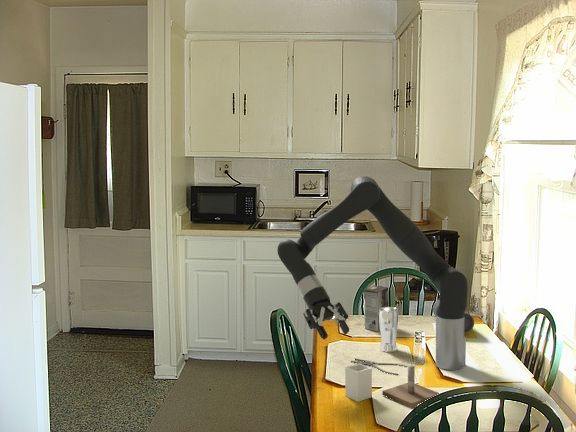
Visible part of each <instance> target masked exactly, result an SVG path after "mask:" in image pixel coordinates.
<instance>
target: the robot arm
mask: <svg viewBox="0 0 576 432" xmlns="http://www.w3.org/2000/svg"><path fill="white" fill-rule="evenodd" d="M366 210H367V211H368V212H369V213H370V214H371V215H373V217H374V218H375V219H376V220H377V222H379V224H380V226H381V227H382V229H383V230H384V232H385V233H386V235H387V236H388V238H389V239H390V240H391V241H392V242H393V244H395V246H396V247H397V248H398V249H399V250H400V251H401V252H402V253H403V254H404V255H405V256H406V257H408V258H409V259H410V261H412V262H413V263H414V264H416V265H417V266H418V267H420V269H421V271H423V272H424V273H425V274H426V276H427V277H428V278H429V280H430V281H431V282H432V284H433V285H434V287H435V288H436V289H437V291H439V299H440V303H439V306H438V307H437V308H436V316H435V324H436V325H435V326H436V327H435V366H436V367H437V368H439V369H442V370H447V371H448V370H449V371H450V370H451V371H453V370H454V371H455V370H460V369H463V368H464V366H465V365H466V353H467V349H466V348H467V347H466V346H467V338H466V337H465V334H464V314H465V311H466V310H467V305H468V288H469V287H468V280H467V278H466V275H465V274H464V273H463V272H461V271H460V270H458V269H457V268H454V267H453V266H451V264H449V263H448V262H447V261H446V260H445V259H444V258H442V257H441V256H440V255H439V254H438V252H437V251H436V250H435V249H434V247H433V245H432V243H431V242H430V240H429V239H428V238H427V236H426V234H424V232H423V231H422V230H421V229H420V228H419V227H418V226H417V224H415V223H414V222H413V221H412V220H411V219H410V218H409V217H408V216H407V215H406V214H405V213H404V211H402V210H401V209H399V208H398V207H397V206H396V205H395V204H394V203H393V202H392V201H391V200H390V198H388V196H387V195H386V194H385V192H384V191H383V190H382V189H381V187H380V186H379V184H378V182H376V180H375V179H373V177H370V176H365V175H362V176H358V177H357V178H355V179H354V180H353V181H352V183H351V186H350V192H349V193H348V195H347V196H346V197H345V198H344V199H343V200H342V201H340V202H339V203H337V205H335V206H334V207H332V208H331V209H329V210H327V211H326V212H324V213H322V214H320V215H319V216H317V217H316V218H314V219H313V220H312V221H311V222H309V223H308V224H307V225H306V226H304V227H303V228H302V229H301V230H300V237H299V238H298V239H297V241H294V240H292V239H282V240H281V241H280V242H279V243H278V245H277V254H278V258H279V259H280V261H281V262H282V264H283V266H285V268H286V269H287V271H289V273H290V274H291V276H292V278H293V280H294V283H295V284H296V286H297V288H298V290H299V294H300V295H301V297H302V299H303V300H304V302H305V305H306V306H307V309H305V310H304V312H303V313H302V314H303V316H304V318H305V321H306V324H307V325H308V328H309V330H313V329H314V330H316V331H317V332H318V335H319V337H320V338H321V339H322V340H326V339H327V338H328V337H329V335H328V333H327V331H326V329H325V328H324V326H323V325H322V324H323V322H325V321H330V320H331V321H332V322H336V323H337V324H338V326H339V328H340V330H341V332H342V333H343V334H344V335H348V334H349V332H350V328H349V325H348V324H347V322H346V321H347V320H348V319H349V315H348V313H347V311H346V309H344V307H343V306H342V304H341V302H337V303H336V304H332V302H331V298H330V296H329V294H328V292H327V290H326V289H325V287H324V285H323V283H322V281H321V280H320V278H319V277H318V276H317V274H316V272H315V271H314V269H313V267H312V266H311V264H310V263H309V262H308V261H307V260H306V258H307V257H308V256H309V255H310V254H311V252H313V250H314V249H315V247H316V246H317V245H319V244H320V243H322V241H324V240H325V239H327V238H328V237H329V236H330V235H331V234H332V233H333V232H335V231H336V230H337V229H338V228H340V227H341V226H344V224H346V223H347V222H348V221H350V220H351V219H353V218H355V217H356V216H357V215H359V214H361V213H363V212H365V211H366Z"/></svg>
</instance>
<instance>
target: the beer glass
mask: <svg viewBox="0 0 576 432" xmlns="http://www.w3.org/2000/svg"><path fill="white" fill-rule="evenodd" d="M379 328H380V330H379V332H380V346H379V350H380V351H381V350H382V351H381V352H384V351H385V353H394V352H396V351H397V350H398V347H397V346H398V345H397V335H398V328H399V309H398V308H396V307H393V306H389V307H382V308H380V311H379Z"/></svg>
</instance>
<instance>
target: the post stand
mask: <svg viewBox="0 0 576 432" xmlns="http://www.w3.org/2000/svg"><path fill="white" fill-rule="evenodd" d="M407 366H408V368H407V382H406V383H403V384H399V385H397V386H394V387H391V388H390V387H389V388H387V389H385V390H382V394H381V395H385V396H387V397H388V398H387V399H389V398H391V399H393V400H395V401H394V402H396V401H397V402H396V403H398V402H399V403H398V404H400V403H401V404H400V405H403V406H405V405H406V406H405V407H407V406H408V408H410V407H411V408H410V409H414V408H416V407H415V406H417V405H418V404H420V403H422V402H424V401H425V400H427V399H429V398H431V397H433V396H435V395H437V394H439V393H440V392H438V391H435V390H432V389H430V388H427V387H424V386H422V385H419V384H417V383H415V376H416V375H415V368H416V367H415V365H412V364H411V365H407ZM391 399H390V400H391ZM393 400H392V401H393ZM413 407H414V408H413ZM417 407H418V406H417Z"/></svg>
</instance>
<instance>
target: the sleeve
mask: <svg viewBox="0 0 576 432" xmlns="http://www.w3.org/2000/svg"><path fill="white" fill-rule="evenodd" d="M344 369H345V370H344V371H345V372H344V374H345V375H344V376H345V377H344V384H345V386H344V387H345V388H344V389H345V391H344V392H345V395H344V396H345V397H347V398H349V399H351V400H353V401H356V402H361V401H364V400H367V399H370V398H372V397H373V390H372V389H373V367H370V366H367V365H362V364H360V363H358V364H355V363H354V364H352V365H349V366H345V367H344Z"/></svg>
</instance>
